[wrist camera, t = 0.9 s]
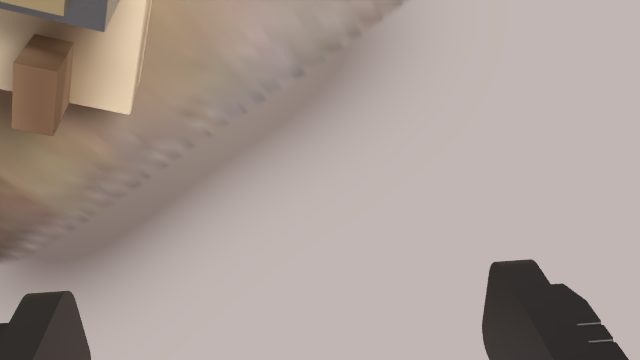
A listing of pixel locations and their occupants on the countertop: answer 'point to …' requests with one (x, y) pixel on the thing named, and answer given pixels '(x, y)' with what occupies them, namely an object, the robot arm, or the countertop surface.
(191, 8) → the countertop surface
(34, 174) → the countertop surface
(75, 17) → the dark gray block
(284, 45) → the countertop surface
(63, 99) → the body
